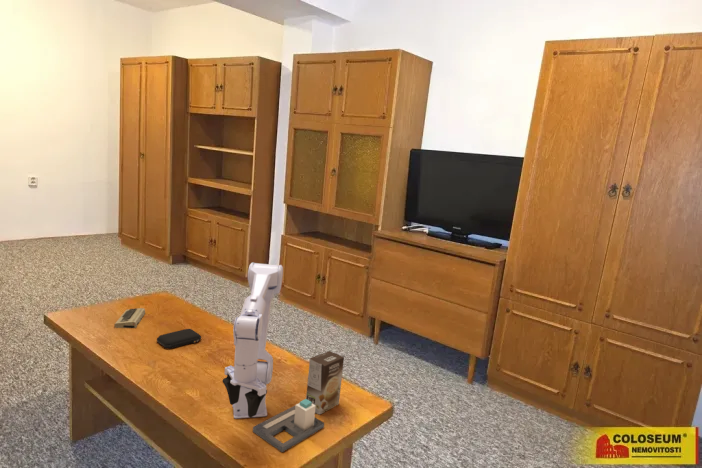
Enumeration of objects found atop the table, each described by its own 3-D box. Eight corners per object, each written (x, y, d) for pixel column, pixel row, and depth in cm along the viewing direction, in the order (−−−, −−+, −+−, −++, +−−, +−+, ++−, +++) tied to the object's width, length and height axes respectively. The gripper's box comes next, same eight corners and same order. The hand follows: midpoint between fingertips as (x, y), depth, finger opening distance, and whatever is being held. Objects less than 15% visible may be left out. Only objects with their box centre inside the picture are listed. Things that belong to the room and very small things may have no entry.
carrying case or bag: (167, 352, 169) (204, 342, 179) (168, 345, 168) (204, 335, 179) (154, 342, 176) (190, 333, 186) (154, 335, 175) (190, 326, 186)
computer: (125, 314, 199) (125, 306, 198) (145, 314, 201) (145, 307, 200) (114, 328, 184) (114, 321, 183) (135, 329, 186) (136, 321, 185)
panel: (282, 452, 121) (282, 446, 120) (252, 431, 128) (253, 426, 128) (323, 427, 133) (324, 422, 133) (294, 409, 140) (295, 404, 140)
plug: (303, 433, 130) (305, 407, 128) (293, 427, 132) (295, 401, 130) (313, 427, 133) (315, 402, 131) (303, 421, 135) (305, 396, 134)
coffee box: (319, 415, 139) (324, 366, 136) (304, 406, 143) (308, 358, 140) (339, 404, 146) (344, 357, 143) (324, 396, 150) (329, 349, 147)
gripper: (215, 355, 120) (213, 403, 122) (251, 376, 111) (248, 427, 113) (238, 347, 125) (235, 393, 128) (274, 367, 116) (270, 416, 119)
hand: (243, 409), depth 121 cm, fingers open, 7 cm apart
